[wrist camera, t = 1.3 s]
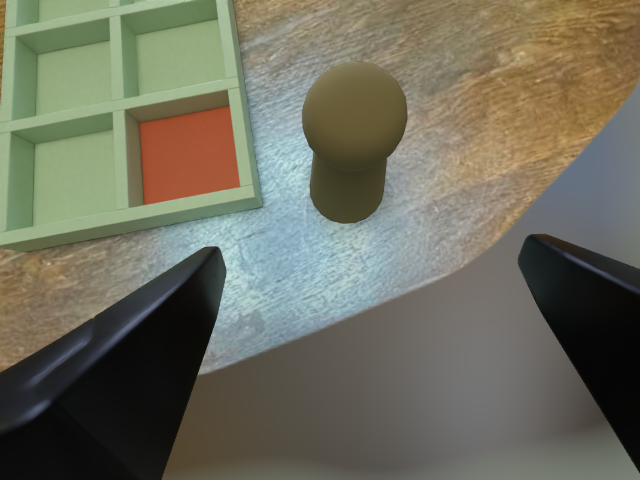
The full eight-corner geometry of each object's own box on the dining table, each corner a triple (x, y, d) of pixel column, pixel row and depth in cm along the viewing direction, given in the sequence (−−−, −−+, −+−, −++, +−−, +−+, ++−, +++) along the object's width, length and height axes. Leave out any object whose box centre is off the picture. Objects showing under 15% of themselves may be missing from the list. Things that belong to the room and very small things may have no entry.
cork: (305, 219, 23) (279, 151, 13) (314, 150, 24) (297, 34, 14) (381, 227, 23) (422, 163, 12) (386, 156, 24) (428, 41, 13)
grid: (262, 207, 24) (254, 197, 21) (25, 252, 24) (-9, 246, 22) (214, -128, 32) (204, -162, 29) (36, -92, 32) (13, -122, 30)
